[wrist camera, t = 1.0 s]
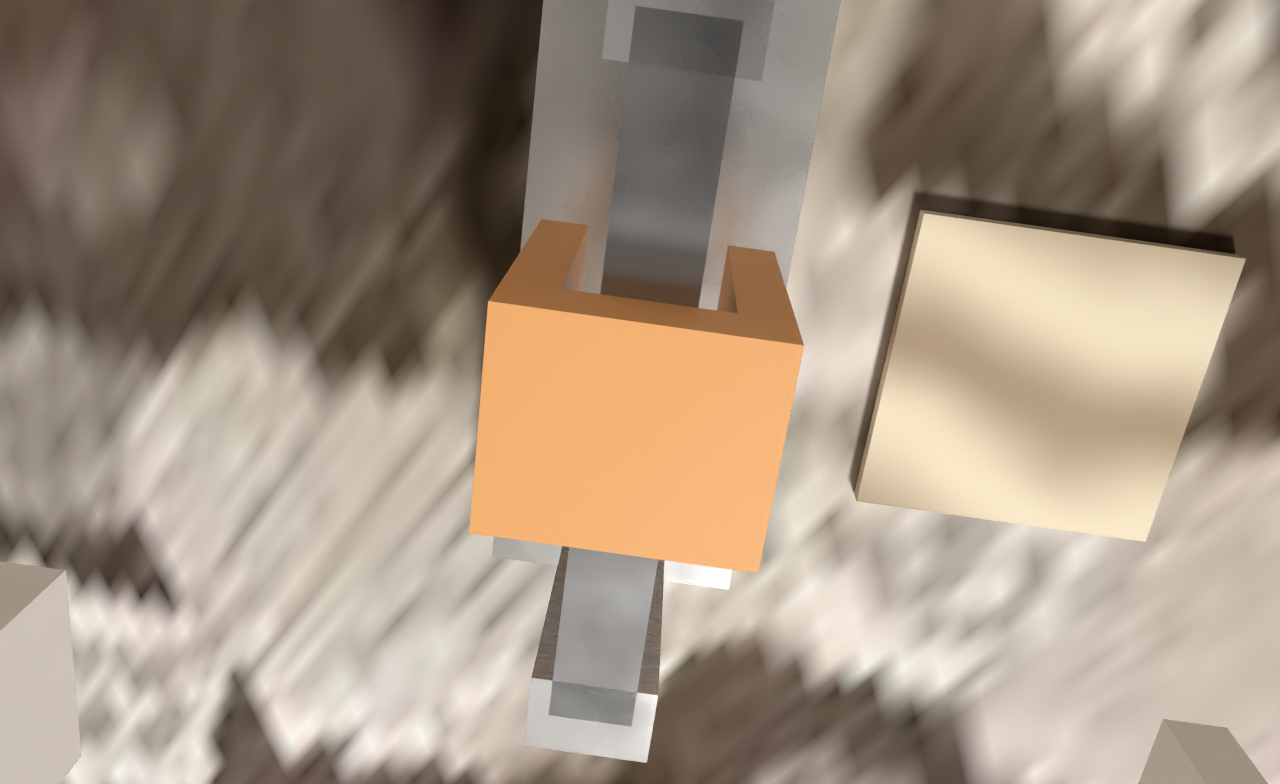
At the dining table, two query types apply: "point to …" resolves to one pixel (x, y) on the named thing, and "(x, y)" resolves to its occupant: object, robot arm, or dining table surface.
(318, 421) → the dining table surface
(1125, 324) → the pad
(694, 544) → the orange notched sleeve
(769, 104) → the rail stand
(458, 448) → the dining table surface
